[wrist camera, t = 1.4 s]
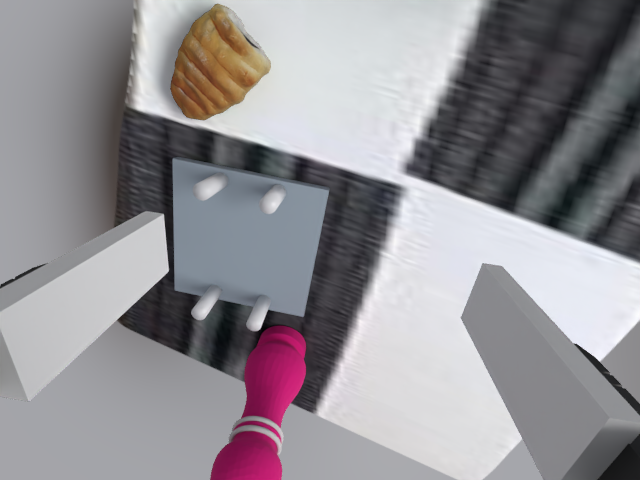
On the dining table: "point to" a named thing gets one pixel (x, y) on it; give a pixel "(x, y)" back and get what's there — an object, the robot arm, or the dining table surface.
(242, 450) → the pepper mill
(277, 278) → the tray
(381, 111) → the dining table surface
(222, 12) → the pastry
